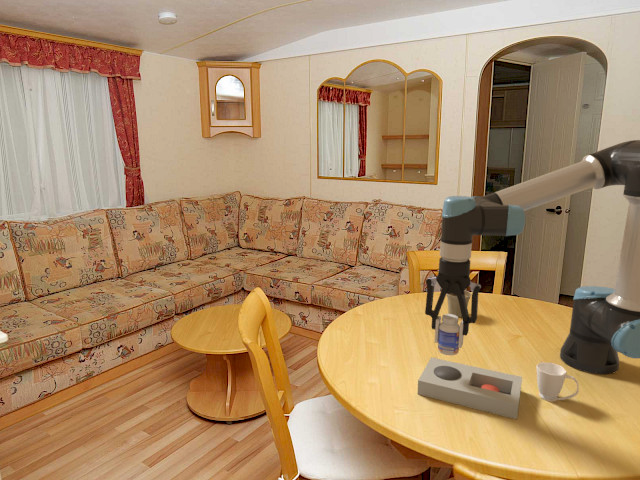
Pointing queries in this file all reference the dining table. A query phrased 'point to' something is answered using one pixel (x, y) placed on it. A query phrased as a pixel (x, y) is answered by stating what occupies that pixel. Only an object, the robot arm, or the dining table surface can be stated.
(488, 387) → the breaker button
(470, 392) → the grey recessed tray
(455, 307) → the flower pot
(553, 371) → the cup
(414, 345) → the dining table surface
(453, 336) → the pill bottle
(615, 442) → the dining table surface
